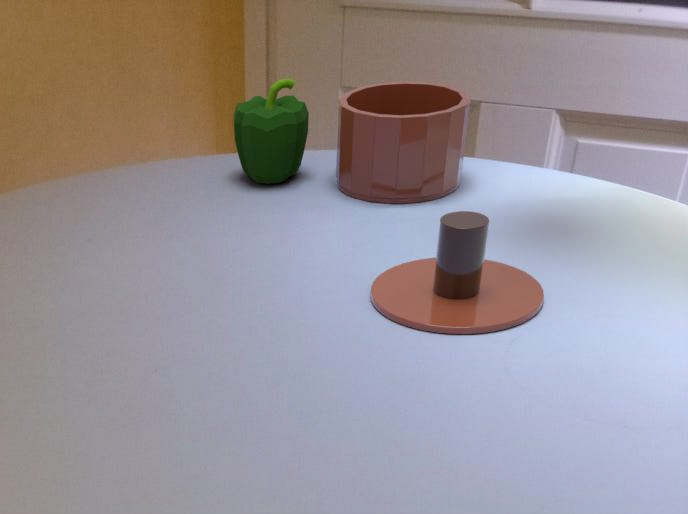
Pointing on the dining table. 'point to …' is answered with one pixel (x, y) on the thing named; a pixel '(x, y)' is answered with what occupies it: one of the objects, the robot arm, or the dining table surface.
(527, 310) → the lid
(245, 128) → the bell pepper
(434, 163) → the brown pot
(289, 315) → the dining table surface
